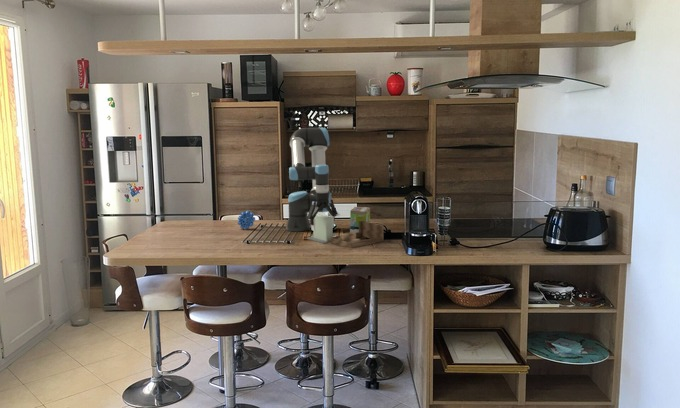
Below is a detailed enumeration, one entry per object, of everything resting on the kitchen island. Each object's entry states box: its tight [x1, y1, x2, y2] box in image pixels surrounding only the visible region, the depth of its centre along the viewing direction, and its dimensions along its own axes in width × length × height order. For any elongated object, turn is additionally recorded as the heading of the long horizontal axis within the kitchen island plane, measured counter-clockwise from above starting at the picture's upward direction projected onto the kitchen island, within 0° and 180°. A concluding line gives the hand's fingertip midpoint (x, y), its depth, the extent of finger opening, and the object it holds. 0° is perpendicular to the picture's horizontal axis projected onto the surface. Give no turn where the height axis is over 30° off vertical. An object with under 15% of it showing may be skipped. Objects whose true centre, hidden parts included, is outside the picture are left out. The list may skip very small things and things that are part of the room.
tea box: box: [349, 206, 371, 233], centre depth 338 cm, size 15×10×15 cm, turn 168°
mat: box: [305, 236, 330, 244], centre depth 322 cm, size 16×12×1 cm
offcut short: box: [340, 232, 357, 240], centre depth 311 cm, size 8×3×3 cm, turn 119°
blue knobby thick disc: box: [237, 209, 256, 230], centre depth 352 cm, size 12×7×12 cm, turn 79°
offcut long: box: [338, 237, 361, 243], centre depth 312 cm, size 12×3×3 cm, turn 66°
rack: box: [328, 221, 384, 249], centre depth 315 cm, size 18×25×9 cm
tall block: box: [312, 214, 334, 241], centre depth 321 cm, size 12×4×13 cm, turn 40°
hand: (322, 228), depth 321 cm, fingers open, 13 cm apart
